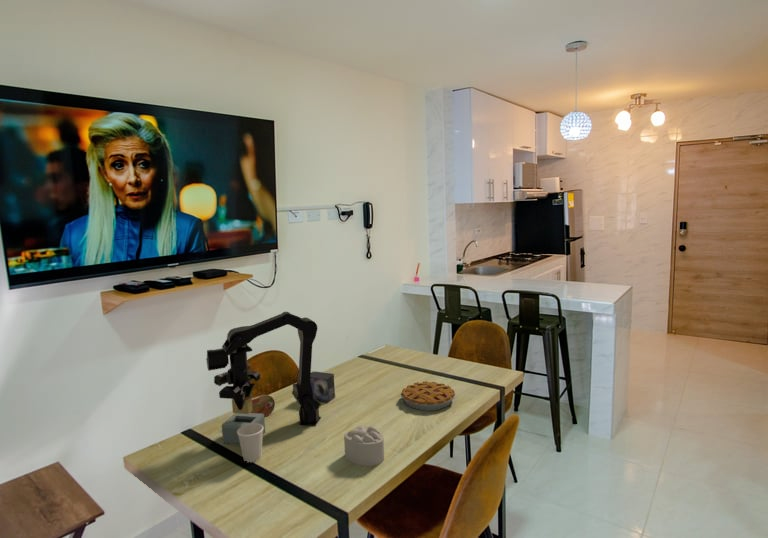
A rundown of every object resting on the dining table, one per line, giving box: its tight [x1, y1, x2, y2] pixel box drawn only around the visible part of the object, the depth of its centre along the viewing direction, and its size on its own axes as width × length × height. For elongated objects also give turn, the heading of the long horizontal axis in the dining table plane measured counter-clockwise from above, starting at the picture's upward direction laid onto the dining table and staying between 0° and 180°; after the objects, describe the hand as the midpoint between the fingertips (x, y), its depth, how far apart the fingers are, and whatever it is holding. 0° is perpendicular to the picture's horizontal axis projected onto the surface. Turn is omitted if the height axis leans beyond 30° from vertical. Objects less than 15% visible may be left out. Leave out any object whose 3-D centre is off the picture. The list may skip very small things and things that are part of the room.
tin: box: [250, 394, 276, 418], centre depth 183 cm, size 15×3×8 cm, turn 134°
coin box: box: [221, 413, 266, 446], centre depth 168 cm, size 11×10×7 cm
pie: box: [400, 381, 456, 412], centre depth 193 cm, size 22×22×5 cm
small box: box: [310, 371, 336, 403], centre depth 199 cm, size 11×6×10 cm, turn 68°
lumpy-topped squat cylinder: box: [343, 425, 385, 467], centre depth 153 cm, size 10×13×9 cm
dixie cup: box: [237, 423, 264, 463], centre depth 154 cm, size 8×8×10 cm
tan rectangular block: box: [231, 396, 253, 414], centre depth 167 cm, size 6×3×5 cm, turn 78°
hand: (242, 407), depth 167 cm, fingers closed on tan rectangular block, 3 cm apart
